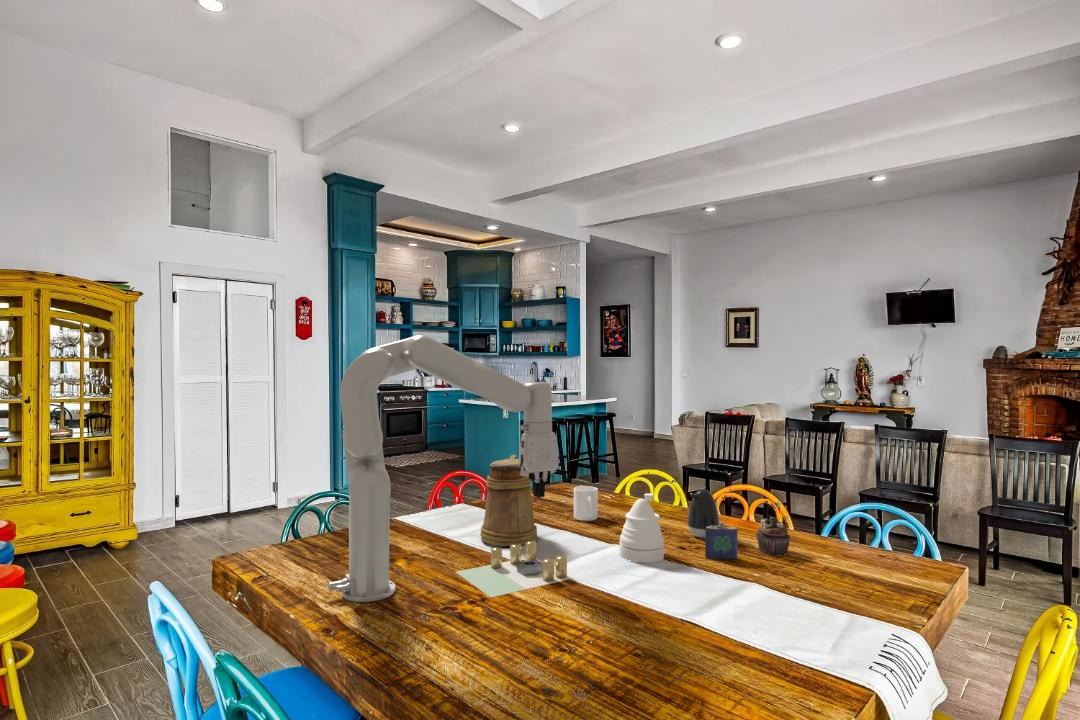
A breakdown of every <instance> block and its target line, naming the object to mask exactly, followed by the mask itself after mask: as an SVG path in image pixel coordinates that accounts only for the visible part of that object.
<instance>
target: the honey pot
mask: <svg viewBox="0 0 1080 720" xmlns="http://www.w3.org/2000/svg"><path fill="white" fill-rule="evenodd" d="M643 495H644V496H643V497H644V498H639V499H637V500H636V501H635V502H634V504H633V505H632V506H631V508H630V510H629V511H628V512H627V513H625V516H624V517H625V523H624V524H623V526H622V527H623V528H622V531H621V534H620V536H619V557H620V556H621V557H620V558H622V559H623V558H624V559H623V560H625V559H627V560H626V561H628V560H631V561H636V562H635V563H637V562H654V563H658V562H657V561H659V562H661V561H662V560H664V558H665V537H664V536H663V531H662V530H661V526H660V524H659V522H658V521H659V520H660V518H661V517H660V514H658V513H656V512H655V511H654V509H653V507H652V506H651V504H650V503H649V502H651V501H652V500H653V498H654V494H653V493H644V494H643ZM631 561H630V562H631Z"/></svg>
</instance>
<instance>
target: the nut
mask: <svg viewBox="0 0 1080 720" xmlns="http://www.w3.org/2000/svg"><path fill="white" fill-rule="evenodd" d="M536 559H537V558H536ZM536 559H523V560H521V561H520V562H518V563H517V572H518V573H520V574H522V575H523V576H530V575H538V574H540V573H541V572H542V571H543V563H542V562H543V561H542V562H540V561H541V560H540V561H538V560H539V559H538V560H536Z"/></svg>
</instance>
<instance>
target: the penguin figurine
mask: <svg viewBox="0 0 1080 720" xmlns="http://www.w3.org/2000/svg"><path fill="white" fill-rule="evenodd" d="M689 496H690V497H692V500H691V502H690V505H689V508H688V513H687V521H686V522H687V523H686V524H687V526H688V531H690V533H691V534H692V535H693V536H694V537H697V538H698V537H699V538H698V539H705V528H706V527H708V526H711V525H712V526H714V525H715V526H714V527H716V526H718V525H720V522H721V521H720V516H719V514H720V513H719V510H718V506H717V504H716V503H717V502H716V501H715V499H714V496H713V494H712V493H711V492H710V491H709V490H708V489H705V488H704V489H698V490H697V491H696V492H695V493H693V492H691V493H689Z"/></svg>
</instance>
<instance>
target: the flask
mask: <svg viewBox="0 0 1080 720" xmlns="http://www.w3.org/2000/svg"><path fill="white" fill-rule="evenodd" d="M719 522H720V525H718V526H716V527H714V526H715V525H714V526H712V525H711V526H708V527H706V528H705V538H704V541H705V544H704V545H705V547H704V548H705V549H704V551H705V552H704V554H705V555H704V557H705V559H706V560H710V559H711V560H713V561H734V560H738V557H739V556H738V544H739V543H738V540H739V538H738V533H739V532H738V528H737V527H735V526H726V525H725V524H726V523H725V522H724V521H719Z"/></svg>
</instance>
